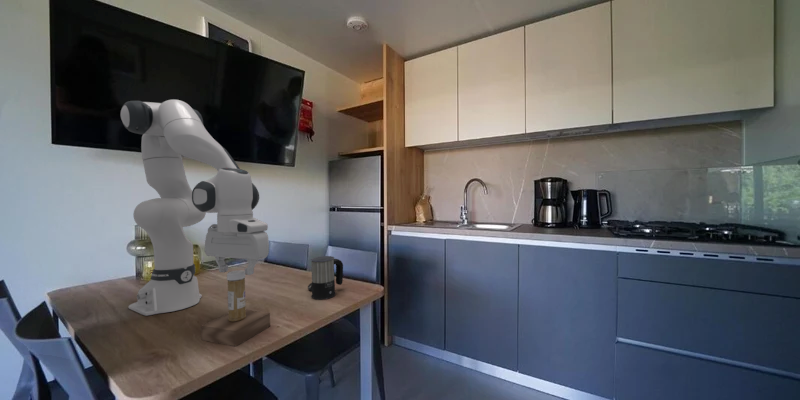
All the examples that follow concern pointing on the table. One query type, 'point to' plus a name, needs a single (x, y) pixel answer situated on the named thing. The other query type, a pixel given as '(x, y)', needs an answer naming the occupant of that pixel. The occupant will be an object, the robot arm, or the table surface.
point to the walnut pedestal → (235, 328)
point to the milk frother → (325, 277)
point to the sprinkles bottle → (236, 295)
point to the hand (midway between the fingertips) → (236, 273)
